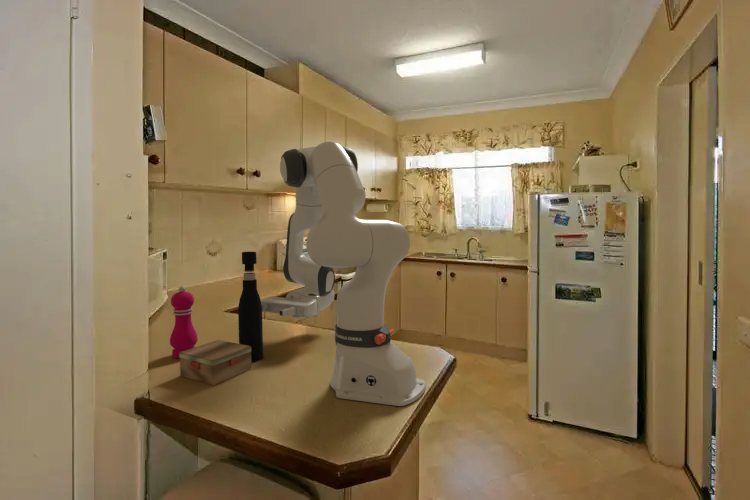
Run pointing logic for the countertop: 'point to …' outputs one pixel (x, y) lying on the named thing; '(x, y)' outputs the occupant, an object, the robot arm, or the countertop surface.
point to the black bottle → (250, 310)
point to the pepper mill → (182, 323)
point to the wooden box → (215, 361)
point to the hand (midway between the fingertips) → (269, 311)
